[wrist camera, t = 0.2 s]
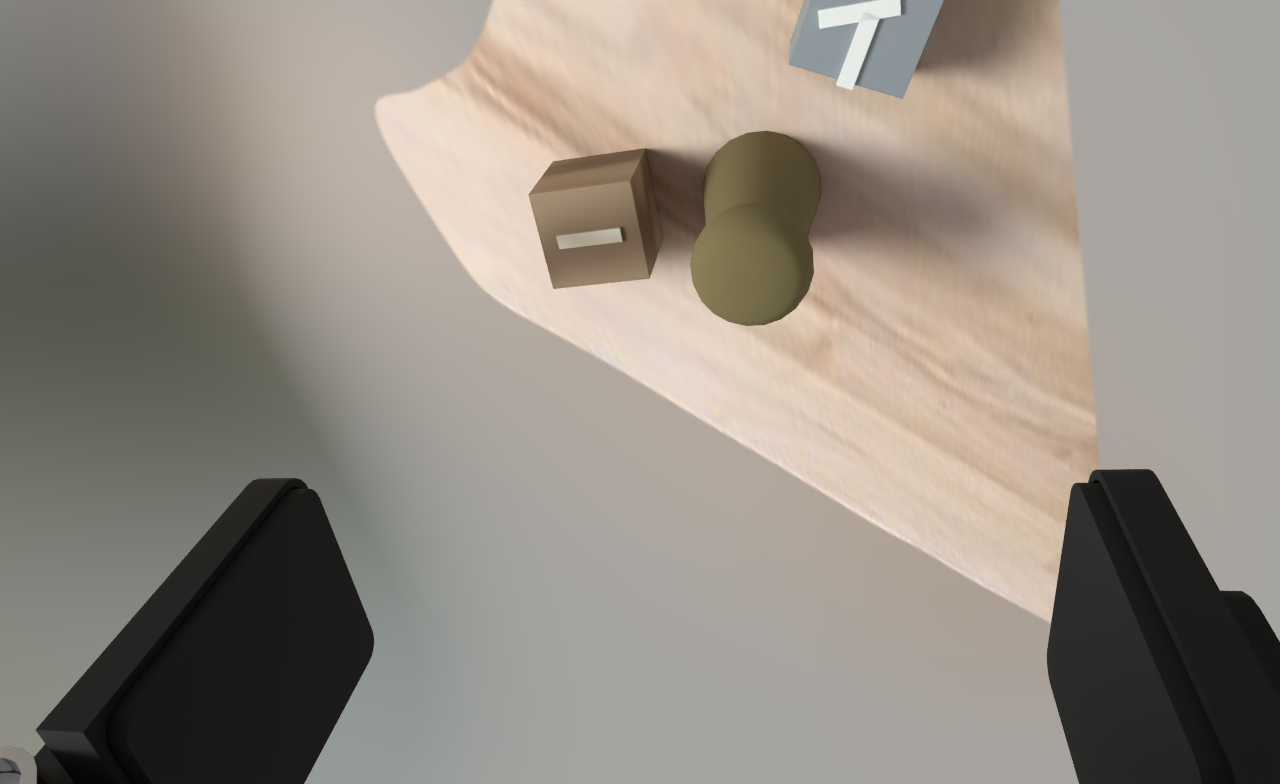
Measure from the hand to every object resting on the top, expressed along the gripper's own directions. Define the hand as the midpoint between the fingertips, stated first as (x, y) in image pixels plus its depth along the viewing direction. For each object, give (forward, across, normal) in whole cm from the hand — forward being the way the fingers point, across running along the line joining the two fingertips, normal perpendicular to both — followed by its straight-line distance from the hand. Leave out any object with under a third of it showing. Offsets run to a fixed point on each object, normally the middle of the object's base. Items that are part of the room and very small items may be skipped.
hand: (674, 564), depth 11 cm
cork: (+36, +1, +7) cm, 37 cm away
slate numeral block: (+36, -4, -1) cm, 36 cm away
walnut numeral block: (+36, +9, +7) cm, 38 cm away
